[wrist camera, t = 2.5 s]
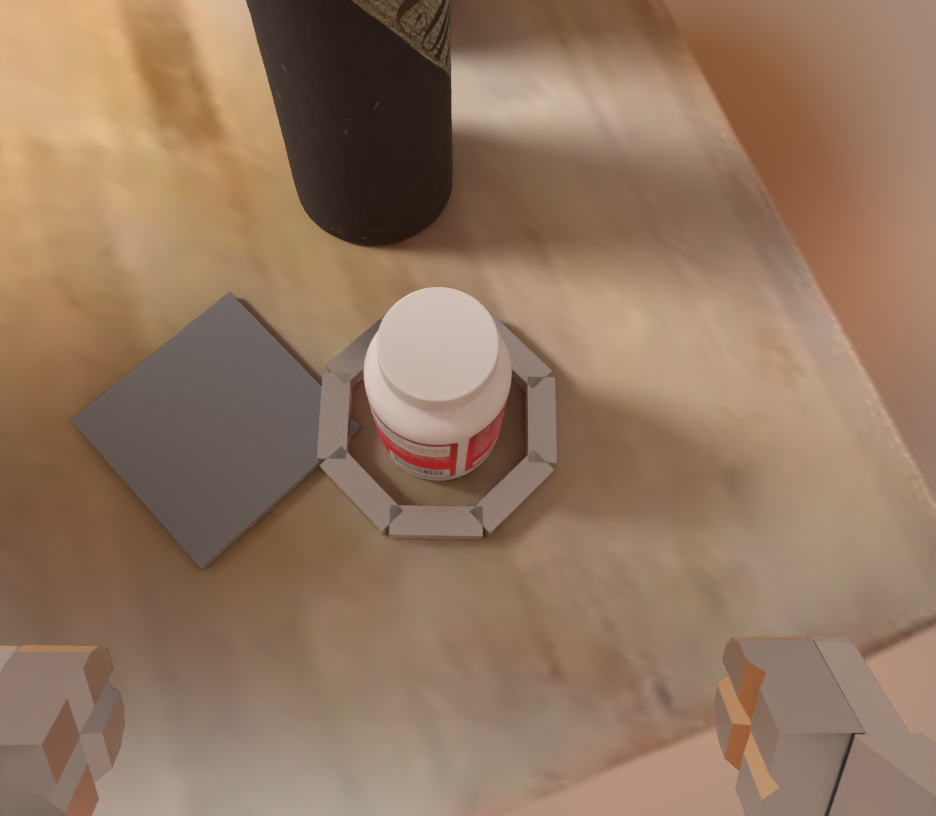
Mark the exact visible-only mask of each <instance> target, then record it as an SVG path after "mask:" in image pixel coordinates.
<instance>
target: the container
mask: <svg viewBox="0 0 936 816" xmlns="http://www.w3.org/2000/svg"><path fill="white" fill-rule="evenodd" d="M246 1H247V5H248V8H249V11H250V14H251V18H252V22H253V26H254V29H255V33H256V37H257V42H258V45H259V49H260V52H261V56H262V59H263V63H264V67H265V70H266V74H267V78H268V81H269V85H270V89H271V92H272V96H273V100H274V104H275V108H276V112H277V116H278V119H279V123H280V127H281V131H282V135H283V138H284V142H285V146H286V151H287V155H288V159H289V163H290V167H291V171H292V176H293V179H294V183H295V186H296V189H297V193H298V196H299V199H300V201H301V204H302V206H303V208H304V209H305V211H306V213H307V214H308V215H309V217H310V218H311V219H312V220H313V221H314V222H315V223H316V224H317V225H318V226H319V227H320V228H322V229H323V230H324V231H326V232H328V233H329V234H331V235H333V236H335V237H337V238H340V239H342V240H345V241H349V242H352V243H358V244H366V245H375V244H387V243H393V242H397V241H401V240H404V239H406V238H409V237H411V236H413V235H415V234H417V233H419V232H420V231H422V230H423V229H425V228H426V227H427V226H428V225H430V224H431V223H432V222H433V221H434V220H435V219H436V218H437V217H438V216H439V214H440V213H441V212H442V210H443V209H444V207H445V205H446V203H447V201H448V199H449V196H450V193H451V187H452V167H453V164H452V119H451V26H450V24H451V21H450V0H246Z"/></svg>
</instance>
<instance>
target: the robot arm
mask: <svg viewBox="0 0 936 816" xmlns="http://www.w3.org/2000/svg"><path fill="white" fill-rule="evenodd" d="M723 662H724V665H725V667H726V670H727V672H728V676H727V677H726V678H724V679H723V680H722V681H721V682H720V683H719V684H718V685H717V691H716V697H715V703H714V706H715V725H716V730H717V735H718V739H719V743H720V746H721V749H722V752H723V755H724V758H725V759H726V760H727V761H728V762H730V763H731V764H732V765H733V766H734V767H735V768H737V769H738V770H739V776H738V780H737V784H736V791H737V794H738V796H739V799H740V802H741V805H742V808H743V810H744V813H745V816H936V743H935V742H933V741H932V740H930V739H929V738H927V737H926V736H924V735H923V734H910V732H909V731H908V729H907V727H906V726H905V725H904V723H903V721H902V720H901V718H900V716H899V715H898V713H897V712H896V710H895V709H894V707H893V705H892V704H891V702H890V700H889V699H888V697H887V696H886V694H885V692H884V691H883V690H882V688H881V686H880V685H879V683H878V681H877V680H876V678H875V677H874V675H873V674H872V672H871V670H870V669H869V667H868V665H867V664H866V662H865V661H864V659H863V658H862V656H861V654H860V653H859V651H858V650H857V648H856V646H855V645H854V643H853V642H852V640H850V639H849V638H848V637H846V636H845V635H826V636H806V637H802V636H794V637H747V638H730V640H729V641H728V643H727V644H726V647H725V651H724V656H723ZM112 670H113V664H112V661H111V658H110V655H109V652H108V649H107V648H104V647H101V646H74V645H23V646H5V645H0V816H92V813H93V811H94V809H95V806H96V804H97V802H98V799H99V798H98V795H97V792H96V788H95V785H94V782H95V781H97V780H98V779H99V778H100V777H101V776H103V775H104V774H105V773H106V772H107V771H109V770H110V769H111V768H112V767H113V764H114V762H115V759H116V757H117V754H118V752H119V749H120V746H121V740H122V735H123V729H124V706H123V702H122V698H121V694H120V692H119V691H117V690H116V689H115V688H114V687H113V686H111V685H110V684H109V683H108V682H107V680H108V678H109V676H110V674H111V672H112Z"/></svg>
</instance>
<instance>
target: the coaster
mask: <svg viewBox="0 0 936 816" xmlns="http://www.w3.org/2000/svg"><path fill="white" fill-rule="evenodd" d="M321 388H322V386H321V385H320V384H319V383H318V382H317V381H316V380H315V379H314V378H313V377H312V376H311V375H310V374H309V373H308V372H307V371H306V370H305V369H304V368H303V367H302V366H301V365H300V364H299V363H298V362H297V361H296V360H295V359H294V357H293V356H292V355H291V354H290V353H289V352H288V351H287V350H286V349H285V348H284V347H283V346H282V345H281V344H280V343H279V342H278V341H277V340H276V339H275V338H274V337H273V336H272V335H271V334H270V333H269V332H268V331H267V330H266V329H265V328H264V327H263V326H262V325H261V324H260V323H259V321H258V320H257V319H256V318H255V317H254V316H253V315H252V314H251V313H250V312H249V311H248V310H247V309H246V308H245V307H244V306H243V305H242V304H241V303H240V302H239V301H238V300H237V299H236V298H235V297H234V296H233V295H232V294H231V293H230V292H229V293H228V294H227V295H225V296H224V297H223V298H222V299H220V300H219V301H218V302H217V303H215V304H214V305H213V306H212V307H210V308H209V309H208V310H207V311H205V312H204V313H203V314H202V315H201V316H199V317H198V318H197V319H196V320H194V321H193V322H192V323H191V324H189V325H188V326H187V327H186V328H184V329H183V330H182V331H181V332H179V333H178V334H177V335H176V336H174V337H173V338H172V339H171V340H169V341H168V342H167V343H166V344H164V345H163V346H162V347H161V348H159V349H158V350H157V351H156V352H154V353H153V354H152V355H151V356H149V357H148V358H147V359H146V360H145V361H143V362H142V363H141V364H140V365H138V366H137V367H136V368H135V369H133V370H132V371H131V372H130V373H128V374H127V375H126V376H125V377H123V378H122V379H121V380H120V381H118V382H117V383H116V384H115V385H113V386H112V387H111V388H110V389H108V390H107V391H106V392H105V393H103V394H102V395H101V396H100V397H98V398H97V399H96V400H95V401H93V402H92V403H91V404H90V405H89V406H87V407H86V408H85V409H84V410H82V411H81V412H80V413H79V414H77V415H76V416H75V417H74V418H72V419H71V421H72V423H73V424H74V425H75V426H76V427H77V428H78V429H79V430H80V432H81V433H82V434H83V435H84V436H85V437H86V438H87V440H88V441H89V442H90V443H91V444H92V445H93V446H94V448H95V449H96V450H97V451H98V452H99V453H100V454H101V456H102V457H103V458H104V459H105V460H106V461H107V462H108V464H109V465H110V466H111V467H112V468H113V469H114V470H115V472H116V473H117V474H118V475H119V476H120V477H121V478H122V480H123V481H124V482H125V483H126V484H127V485H128V486H129V488H130V489H131V490H132V491H133V492H134V493H135V494H136V496H137V497H138V498H139V499H140V500H141V501H142V502H143V503H144V505H145V506H146V507H147V508H148V509H149V510H150V511H151V513H152V514H153V515H154V516H155V517H156V518H157V519H158V521H159V522H160V523H161V524H162V525H163V526H164V527H165V529H166V530H167V531H168V532H169V533H170V534H171V535H172V537H173V538H174V539H175V540H176V541H177V542H178V543H179V545H180V546H181V547H182V548H183V549H184V550H185V551H186V553H187V554H188V555H189V556H190V557H191V558H192V559H193V561H194V562H195V563H196V564H197V565H198V566H199V567H200V568H201V569H203V570H204V569H205V568H206V567H207V566H209V565H210V564H211V563H212V562H213V561H214V560H215V559H216V558H217V557H219V556H220V555H221V554H222V553H223V552H224V551H225V550H226V549H228V548H229V547H230V546H231V545H232V544H233V543H234V542H235V541H236V540H238V539H239V538H240V537H241V536H242V535H243V534H244V533H245V532H246V531H248V530H249V529H250V528H251V527H252V526H253V525H254V524H255V523H257V522H258V521H259V520H260V519H261V518H262V517H263V516H264V515H265V514H267V513H268V512H269V511H270V510H271V509H272V508H273V507H274V506H276V505H277V504H278V503H279V502H280V501H281V500H282V499H283V498H284V497H286V496H287V495H288V494H289V493H290V492H291V491H292V490H293V489H294V488H296V487H297V486H298V485H299V484H300V483H301V482H302V481H303V480H305V479H306V478H307V477H308V476H309V475H310V474H311V473H312V472H313V471H315V470H316V469H317V468H318V467H319V465H320V464H321V462H320V461H318V460H317V447H318V432H319V418H320V403H321ZM360 429H361V428H360V425H359V424H358V423H357V422H356V421H355V420H354V419H353V418H352V417H351V416H350V423H349V437H350V438H351V437H353V436H354V435H355V434H356V433H357V432H358V431H359V430H360Z"/></svg>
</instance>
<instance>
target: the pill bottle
mask: <svg viewBox="0 0 936 816" xmlns="http://www.w3.org/2000/svg"><path fill="white" fill-rule="evenodd" d="M511 377H512V367H511V360H510V356H509V352H508V349H507V346H506V344H505V342H504V340H503V338H502V336H501V335H500V333H499V332H498V330H497V327H496V324H495V322H494V320H493V318H492V317H491V315H490V313H489V312H488V311H487V309H486V308H485V307H484V306H483V305H482V304H481V303H480V302H479V301H477V300H476V299H475V298H473V297H472V296H470V295H468V294H466V293H464V292H462V291H459V290H456V289H451V288H445V287H431V288H425V289H421V290H417V291H415V292H412V293H410V294H408V295H406V296H405V297H403V298H401V299H400V300H399V301H397V302H396V303H395V304H394V305H393V306H392V307H391V308H390V310H389V311H388V312H387V313H386V315H385V316H384V318H383V320H382V322H381V324H380V327H379V330H378V331H377V333H376V334H375V336H374V337H373V339H372V341H371V343H370V345H369V347H368V350H367V353H366V357H365V361H364V384H365V391H366V395H367V398H368V401H369V404H370V408H371V412H372V415H373V418H374V422H375V425H376V428H377V432H378V435H379V437H380V440H381V443H382V445H383V447H384V449H385V451H386V453H387V454H388V455H389V457H390V458H391V459H392V460H393V462H394V463H396V464H397V465H398V466H399V467H400V468H401V469H403V470H404V471H406V472H407V473H409V474H411V475H414V476H416V477H419V478H423V479H427V480H434V481H443V480H450V479H454V478H458V477H461V476H463V475H466V474H468V473H470V472H471V471H473V470H474V469H476V468H477V467H478V466H479V465H481V464H482V463H483V462H484V461H485V460H486V458H487V457H488V456H489V455H490V453H491V452H492V450H493V448H494V446H495V444H496V441H497V439H498V436H499V433H500V429H501V425H502V421H503V416H504V412H505V408H506V404H507V400H508V395H509V392H510V386H511Z"/></svg>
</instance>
